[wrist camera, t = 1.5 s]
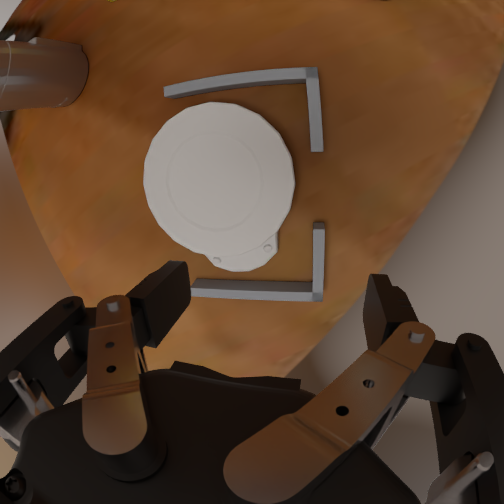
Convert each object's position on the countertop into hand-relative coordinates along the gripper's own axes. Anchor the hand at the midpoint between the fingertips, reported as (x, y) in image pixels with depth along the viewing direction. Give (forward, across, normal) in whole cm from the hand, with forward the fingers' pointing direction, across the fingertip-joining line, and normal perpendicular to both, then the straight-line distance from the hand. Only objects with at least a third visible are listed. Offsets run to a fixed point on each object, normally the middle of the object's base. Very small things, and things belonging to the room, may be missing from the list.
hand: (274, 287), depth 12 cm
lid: (+21, +9, -1) cm, 23 cm away
